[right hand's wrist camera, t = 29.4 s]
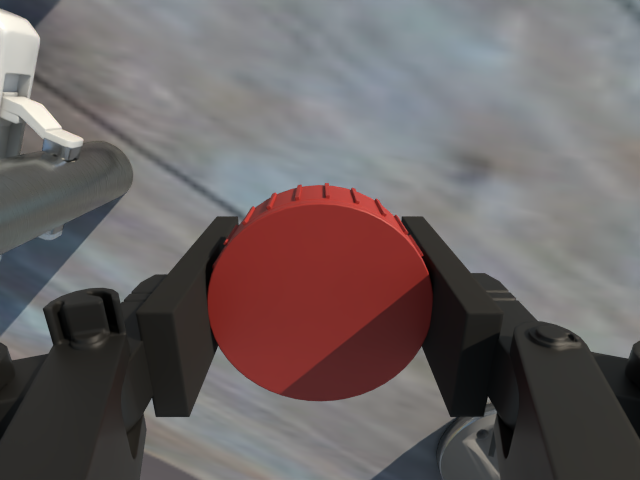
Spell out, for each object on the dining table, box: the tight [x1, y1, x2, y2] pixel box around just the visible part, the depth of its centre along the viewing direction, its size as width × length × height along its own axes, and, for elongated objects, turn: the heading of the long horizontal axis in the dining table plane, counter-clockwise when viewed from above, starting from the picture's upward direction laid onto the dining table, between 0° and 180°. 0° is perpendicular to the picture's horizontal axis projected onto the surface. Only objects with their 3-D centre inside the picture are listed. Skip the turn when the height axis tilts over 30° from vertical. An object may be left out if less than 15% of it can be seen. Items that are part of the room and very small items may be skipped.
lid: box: [207, 183, 433, 401], centre depth 11 cm, size 6×6×2 cm
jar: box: [0, 141, 133, 255], centre depth 26 cm, size 5×5×20 cm
